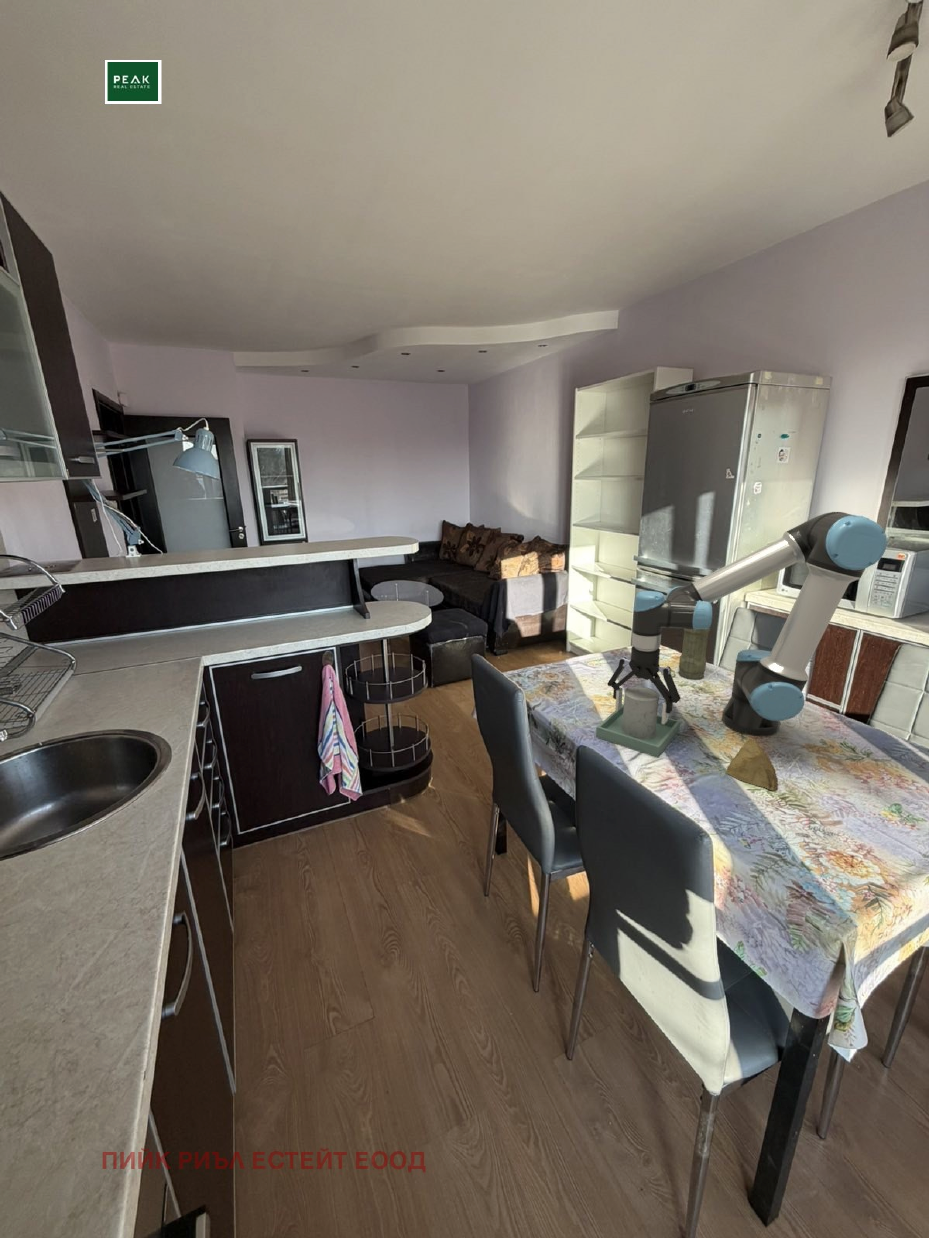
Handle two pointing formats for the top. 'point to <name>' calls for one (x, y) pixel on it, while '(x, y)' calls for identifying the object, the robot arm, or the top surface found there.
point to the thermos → (693, 654)
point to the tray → (653, 747)
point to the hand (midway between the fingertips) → (640, 715)
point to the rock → (753, 766)
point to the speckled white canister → (640, 712)
